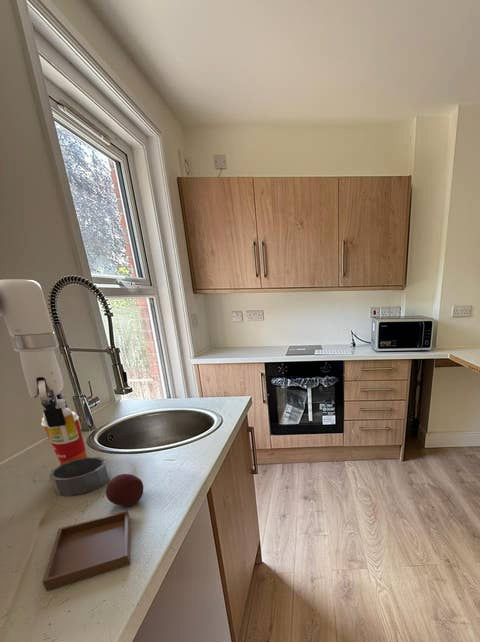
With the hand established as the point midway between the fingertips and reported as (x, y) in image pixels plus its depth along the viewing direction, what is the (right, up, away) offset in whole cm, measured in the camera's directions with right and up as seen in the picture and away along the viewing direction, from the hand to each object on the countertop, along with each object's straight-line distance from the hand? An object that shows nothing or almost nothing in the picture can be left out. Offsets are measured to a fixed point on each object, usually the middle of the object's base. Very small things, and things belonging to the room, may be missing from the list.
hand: (59, 420), depth 81 cm
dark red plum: (+16, -19, -1) cm, 25 cm away
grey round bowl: (+1, -16, +7) cm, 17 cm away
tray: (+18, -25, -16) cm, 35 cm away
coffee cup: (-8, -12, +16) cm, 21 cm away
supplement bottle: (0, -5, +2) cm, 5 cm away
